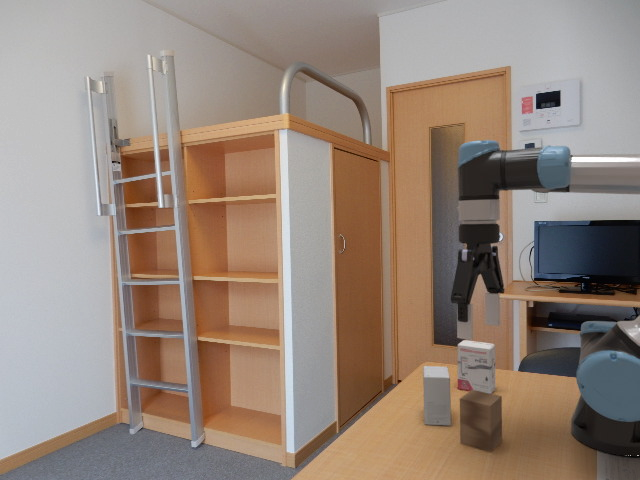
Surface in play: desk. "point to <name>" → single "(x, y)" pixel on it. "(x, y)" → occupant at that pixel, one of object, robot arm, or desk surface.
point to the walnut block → (481, 420)
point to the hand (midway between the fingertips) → (479, 331)
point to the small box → (436, 395)
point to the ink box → (476, 366)
